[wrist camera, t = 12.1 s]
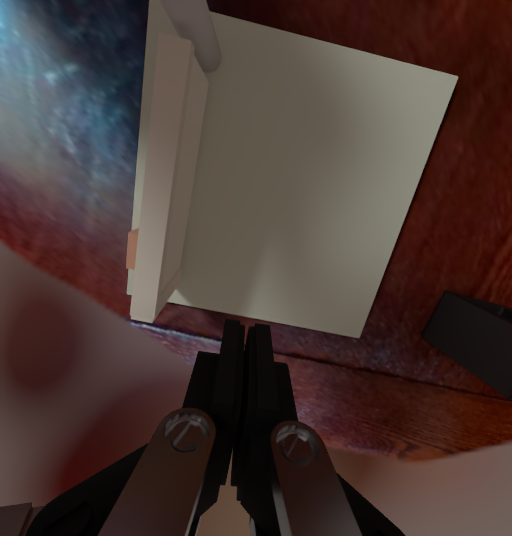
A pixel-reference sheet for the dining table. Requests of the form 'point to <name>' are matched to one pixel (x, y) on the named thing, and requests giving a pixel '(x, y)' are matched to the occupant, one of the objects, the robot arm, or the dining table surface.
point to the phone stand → (475, 338)
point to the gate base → (292, 168)
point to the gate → (168, 174)
